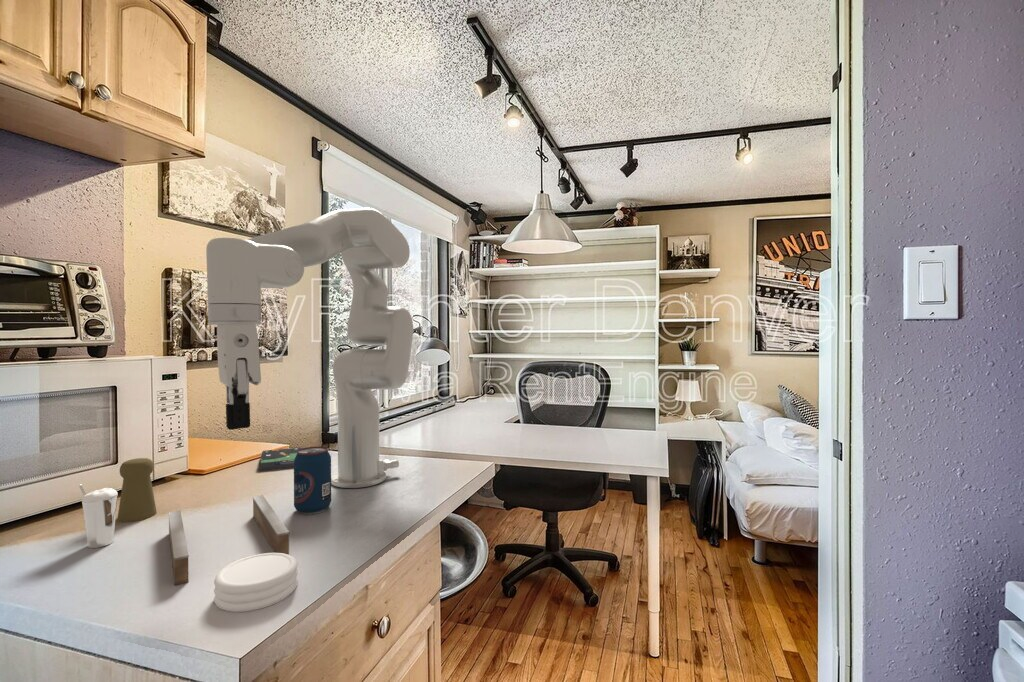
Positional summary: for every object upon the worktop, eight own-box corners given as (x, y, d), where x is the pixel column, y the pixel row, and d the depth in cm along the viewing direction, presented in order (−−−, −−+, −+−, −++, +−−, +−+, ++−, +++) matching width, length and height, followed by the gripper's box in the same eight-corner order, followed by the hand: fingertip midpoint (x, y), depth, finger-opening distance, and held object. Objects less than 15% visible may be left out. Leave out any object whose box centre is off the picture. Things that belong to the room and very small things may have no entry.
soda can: (285, 512, 94) (285, 452, 94) (312, 501, 100) (312, 444, 100) (313, 517, 91) (312, 455, 91) (338, 505, 98) (338, 447, 98)
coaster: (308, 573, 70) (308, 550, 70) (279, 612, 60) (279, 585, 60) (238, 576, 70) (238, 552, 70) (197, 616, 60) (197, 588, 60)
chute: (262, 514, 93) (262, 495, 93) (289, 555, 76) (289, 531, 76) (168, 533, 84) (168, 512, 84) (174, 585, 67) (174, 558, 67)
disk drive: (261, 460, 136) (258, 473, 123) (261, 450, 136) (258, 462, 123) (301, 456, 141) (302, 468, 127) (301, 446, 141) (302, 457, 127)
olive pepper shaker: (134, 523, 89) (134, 464, 89) (108, 520, 90) (108, 462, 90) (164, 511, 95) (164, 456, 95) (139, 509, 96) (139, 454, 96)
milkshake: (91, 539, 82) (91, 481, 82) (125, 537, 82) (124, 480, 82) (69, 551, 77) (68, 489, 77) (104, 549, 78) (104, 488, 78)
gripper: (270, 315, 74) (273, 432, 75) (252, 316, 86) (255, 418, 87) (214, 314, 70) (217, 439, 70) (203, 316, 81) (206, 423, 82)
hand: (238, 427), depth 78 cm, fingers closed
